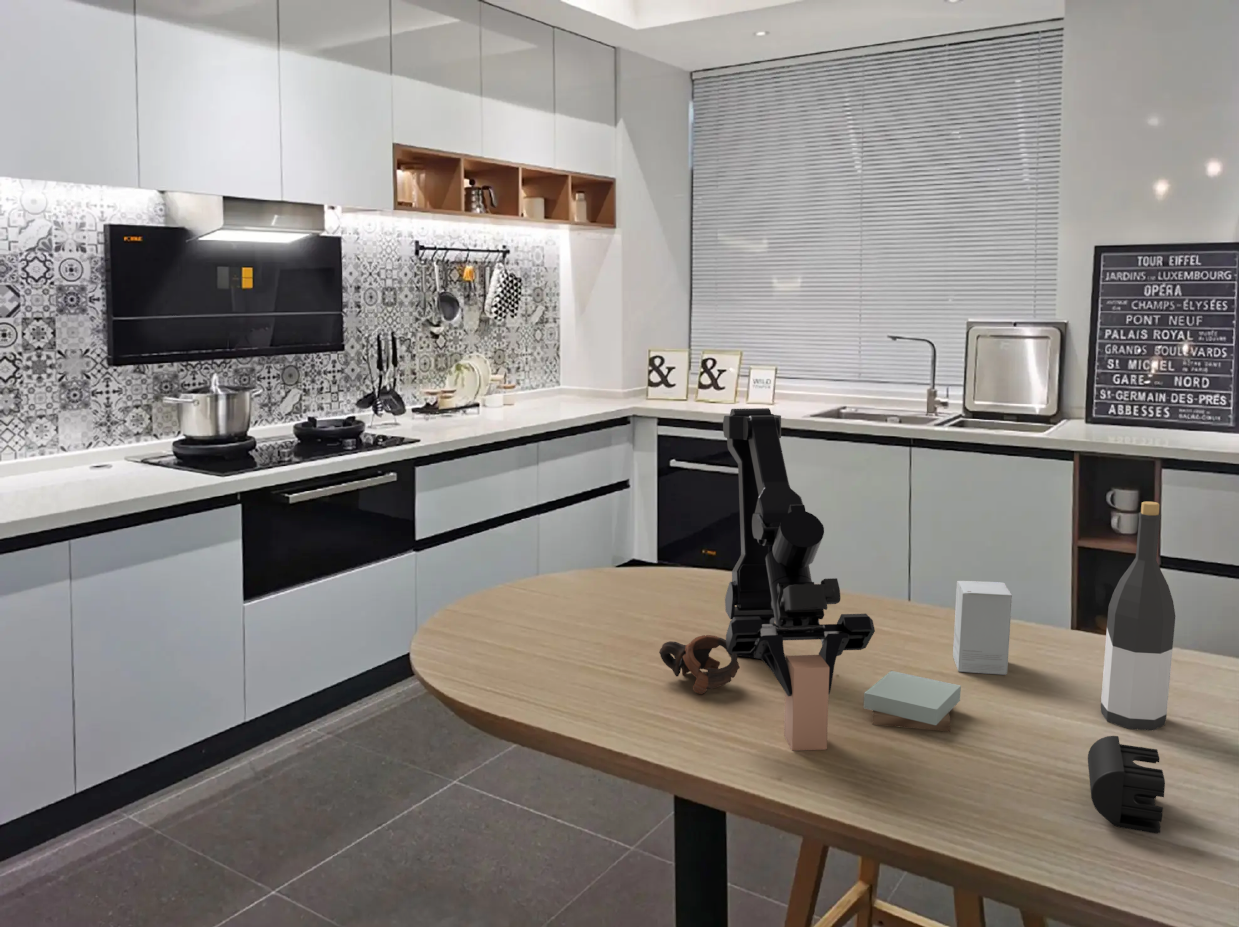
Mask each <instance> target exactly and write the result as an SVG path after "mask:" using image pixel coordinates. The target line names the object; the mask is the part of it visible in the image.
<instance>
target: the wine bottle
mask: <svg viewBox="0 0 1239 927" xmlns="http://www.w3.org/2000/svg"><path fill="white" fill-rule="evenodd" d="M1137 515H1138V528H1137V539H1136V550H1135V552H1136V553H1135V558H1134V559H1133V561H1132V562H1131V564H1130V565H1129V566H1128V568H1127V569H1126V571H1124V573H1123V575H1122V576H1121V577H1120V579H1119V581H1118V582H1117V585H1116V586H1115V588H1114V591H1113V592H1112V595H1111V598H1110V601H1109V604H1108V610H1107V623H1106V634H1105V647H1104V658H1103V673H1102V685H1101V686H1102V688H1101V698H1100V713H1101V715H1102V717H1104V719H1105V720H1106V722H1108V723H1110V724H1114V725H1116V726H1119V727H1122V728H1124V729H1128V730H1137V729H1138V730H1141V731H1152V730H1153V731H1154V730H1157V729H1160V728H1161V727H1164V726H1165V725H1166V720H1167V716H1168V715H1167V713H1168V704H1169V703H1168V702H1169V691H1170V680H1171V669H1172V659H1173V648H1174V635H1175V626H1176V625H1175V624H1176V611H1175V603H1174V599H1173V596H1172V593H1171V590H1170V589H1171V588H1170V587H1169V583H1168V582H1167V580H1166V578H1165V576H1164V574H1163V572H1162V569H1161V568H1160V565H1159V564H1158V561H1157V556H1158V544H1159V532H1160V520H1161V518H1162V514H1161V513H1160V503H1159V502H1155V501H1145V500H1144V501H1143V502H1141V507H1140V512H1138V514H1137ZM1163 725H1164V726H1163Z"/></svg>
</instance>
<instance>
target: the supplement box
mask: <svg viewBox="0 0 1239 927" xmlns="http://www.w3.org/2000/svg"><path fill="white" fill-rule="evenodd" d="M1012 599H1013V594H1012V593H1011V591H1010V589H1009V588H1008V586H1007V585H1006V583H1005V582H999V581H998V582H997V581H980V580H979V581H977V580H976V581H975V580H957V581H956V590H955V609H954V610H955V611H954V612H955V613H954V628H953V629H954V630H953V645H952V646H953V648H952V649H953V650H952V657H953V660H954V663H955V666H956V668H957V672H961V673H974V674H987V675H1001V676H1002V675H1004V676H1005V675H1007V674H1008V668H1009V651H1010V650H1009V648H1010V638H1011V637H1010V635H1011V619H1012V618H1011V617H1012V616H1011V615H1012V603H1013V600H1012Z"/></svg>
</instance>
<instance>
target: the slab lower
mask: <svg viewBox="0 0 1239 927" xmlns="http://www.w3.org/2000/svg"><path fill="white" fill-rule="evenodd" d="M872 725H877V726H885V725H888V727H896V726H900V727H899V728H909V729H916V730H917V729H920V730H928V731H930V730H932V731H940V732H951V717H950V711H949V712H948V713H947V714H946V716H945V717H944V718H943V719H942V720H941V721H940V722H939V723H938V724H937V725H932V724H928V723H924V722H920V721H915V720H911V719H907V718H903V717H899V716H894V715H890V714H886V713H882V712H878V711H873V710H872Z"/></svg>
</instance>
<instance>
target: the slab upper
mask: <svg viewBox="0 0 1239 927" xmlns="http://www.w3.org/2000/svg"><path fill="white" fill-rule="evenodd" d="M961 689H962V685H960V684H955V683H950V682H946V681H941V680H937V679H932V678H927V677H923V676H918V675H913V674H909V673H904V672H900V671H893V670H890V671H888V673H887V674H885V675H884V676H882V678H880V679H879V680H878V681H876V682H875V683H874V684H873V685H872V686H871V687H870V688H868V689H867V690H866V691H864V693H863V709H865V710H869V711H872V712H873V711H878V712H882V713H886V714H890V715H894V716H899V717H903V718H907V719H911V720H915V721H920V722H924V723H928V724H932V725H937V724H938V723H939V722H940V721H941V720H942V719H943V718H944V717H945V716H946V714H947V713H948V712H949V713H950V712H951V711H952V709H953V708H954V707H955V706H956V705H957V704H959V702H960V701H961Z"/></svg>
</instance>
